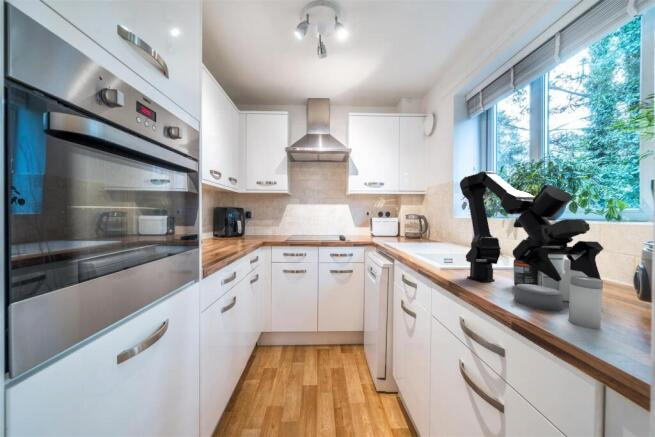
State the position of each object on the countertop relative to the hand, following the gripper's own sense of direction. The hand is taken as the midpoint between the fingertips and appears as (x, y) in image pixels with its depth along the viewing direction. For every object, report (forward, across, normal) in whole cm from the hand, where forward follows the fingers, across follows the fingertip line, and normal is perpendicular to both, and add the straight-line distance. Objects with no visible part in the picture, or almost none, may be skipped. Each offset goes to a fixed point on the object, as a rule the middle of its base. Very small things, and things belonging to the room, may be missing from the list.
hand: (579, 281), depth 57 cm
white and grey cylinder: (+7, 0, +5) cm, 9 cm away
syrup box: (-8, +13, +21) cm, 26 cm away
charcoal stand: (-1, 0, +14) cm, 14 cm away
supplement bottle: (-11, +9, +24) cm, 28 cm away
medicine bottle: (-3, +14, +16) cm, 21 cm away
